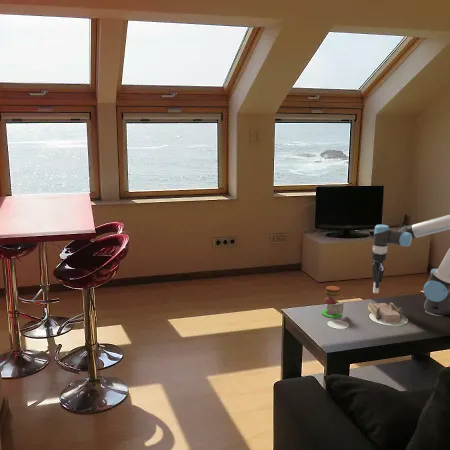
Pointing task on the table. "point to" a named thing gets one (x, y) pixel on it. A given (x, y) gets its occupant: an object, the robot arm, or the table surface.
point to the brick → (387, 313)
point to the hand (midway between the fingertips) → (375, 292)
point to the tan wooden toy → (376, 312)
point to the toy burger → (332, 303)
